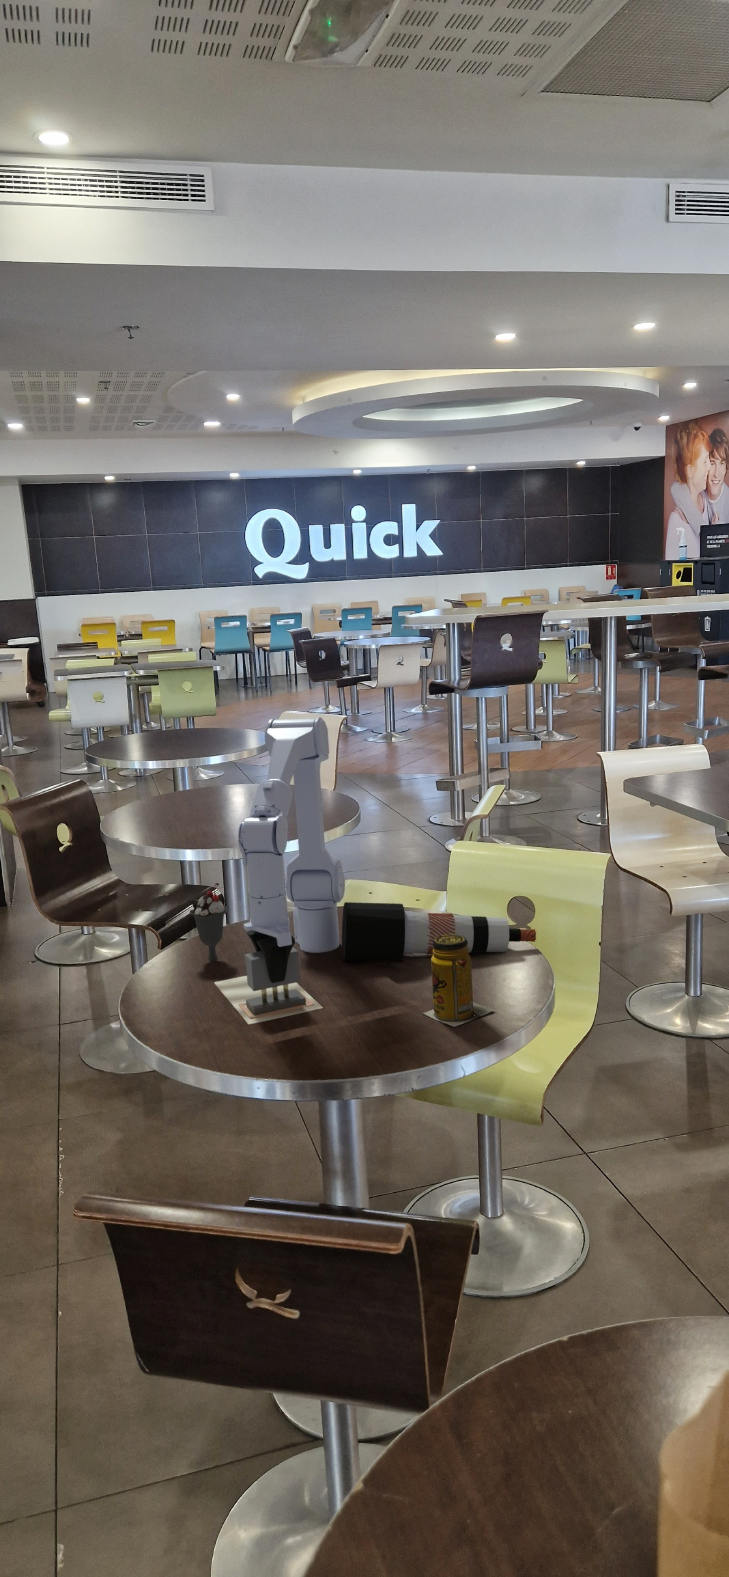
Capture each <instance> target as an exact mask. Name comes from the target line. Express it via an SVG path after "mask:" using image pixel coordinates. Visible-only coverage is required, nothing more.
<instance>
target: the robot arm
mask: <svg viewBox="0 0 729 1577" xmlns="http://www.w3.org/2000/svg"><path fill="white" fill-rule="evenodd" d="M264 729H265V730H264V743H265V744H264V745H265V748H266V750H267V752H268V755H269V757H270V760H269V766H268V770H267V771H268V772H267V777H266V780H263V781H262V782H260V784H259V785H258V786H257V788H256V793H255V796H254V799H253V801H252V802H253V803H252V805H251V809H250V812H249V814H248V815H249V816H248V817H246V818H245V819H244V820H242V821H240V824H239V827H238V831H237V832H238V835H237V837H238V840H237V842H238V848H239V851H240V854H241V856H242V857H241V858H242V864H243V866H244V867H246V876H247V878H246V879H247V891H248V901H249V902H248V903H249V918H250V920H249V922H246V923H244V924H243V929H244V930H245V931H247V932H246V934H247V936H248V938H249V939H250V941H251V943H252V945H253V947H254V949H255V952H259V951H262V953H263V955H264V958H265V961H266V965H267V970H268V975H269V978H270V980H271V982H272V983H275V982H280V981H284V980H285V976H286V970H287V963H288V959H289V955H290V952H291V950H292V947H294V946H295V944H296V943H297V944H298V945H299V948H300V950H302V951H303V952H306V953H314V954H315V953H317V954H319V953H327V952H331V951H334V950H336V949H337V948H339V946H340V934H339V933H340V932H339V917H338V903H341V901H342V900H343V898H344V896H345V890H346V882H345V874H344V872H343V870H344V869H343V865H342V862H341V859H340V858H339V857H338V856H336V855H335V854H332V853H331V852H330V851H328V850H327V849H326V843H325V842H326V840H325V829H324V826H325V825H324V812H323V798H322V783H321V763H322V762H325V761H327V760H329V759H330V758H329V757H330V756H329V754H330V744H329V743H330V742H329V732H328V731H329V730H328V729H329V728H328V727H327V723H326V721H325V720H324V719H323V717H321V716H318V717H311V718H308V717H307V718H286V719H285V718H281V719H276V718H270V719H269V720H268V722H267V723H266V724H265V728H264ZM292 779H293V789H294V794H293V790H292V789H291V788H290V784H291V781H292ZM293 796H294V802H295V815H296V816H295V817H296V828H297V840H298V853H297V854H296V855H294V856H293V857H292V858H291V859H289V862H288V863H287V866H286V874H285V861H284V854H285V851H286V849H287V846H288V845H287V844H288V830H289V824H288V820H287V819H288V815H289V812H290V810H291V809H290V807H291V804H292V801H293ZM285 875H286V877H285ZM287 898H288V900H289V902H291V903H293V905H294V906H293V907H294V908H293V911H292V920H293V931H294V932H293V934H294V936H293V935H292V931H290V925H291V924H290V918H289V916H288V903H287Z"/></svg>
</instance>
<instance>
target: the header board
mask: <svg viewBox="0 0 729 1577" xmlns="http://www.w3.org/2000/svg"><path fill="white" fill-rule="evenodd" d="M213 984H214V985H215V986H216V987H217V988H218V990H219V991H220V992H221V993H222V994H223V995H224V997H225V998H226V999H227V1000H228V1002H229V1003H230V1004H231V1005H232V1007H233V1008H234V1009H235V1010H236V1012H238V1013H239V1015H240V1016H241V1017H242V1018H243V1020H244V1021H245V1022H246V1023H247V1024H248V1025H252V1024H257V1023H262V1022H266V1021H270V1020H271V1021H272V1020H276V1019H280V1018H284V1017H288V1016H289V1017H290V1016H293V1015H299V1014H302V1013H308V1012H311V1011H315V1010H316V1011H317V1010H321V1009H324V1007H323V1006H322V1005H321V1004H320V1003H319V1002H318V1001H317V1000H316V999H314V998H313V997H312V996H311V995H310V994H309V993H308V992H307V991H306V990H305V989H304V988H303V987H302V986H300V985H299V983H298V982H296V983H291V984H286V985H282V986H277V987H272V988H267V989H263V990H258V991H253V990H252V989H251V988H250V987H249V986H248V984H247V975H243V976H238V977H232V978H229V979H228V978H227V979H224V980H223V979H222V980H218V981H214V982H213Z"/></svg>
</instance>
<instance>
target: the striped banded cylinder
mask: <svg viewBox="0 0 729 1577" xmlns="http://www.w3.org/2000/svg"><path fill="white" fill-rule="evenodd" d="M341 921H342V922H341V955H342V956H341V958H342V961H343V962H344V961H348V962H350V961H352V962H353V961H355V962H356V961H357V962H358V961H361V962H399V963H401V962H402V961H403V959H404V956H405V955H414V954H418V955H419V954H420V955H421V954H422V955H423V954H426V956H428V955H434V954H433V940H434V939H435V938H437V937H439V936H442V935H460V936H463V937H465V938H466V939H467V941H468V944H467V946H468V954H469V953H506V952H507V951H508V948H509V943H511V942H515V943H517V942H518V943H520V942H526V943H528V942H532V943H533V942H535V943H536V940H537V931H536V928H534V929H533V928H532V929H531V928H530V929H528V928H526V929H524V928H522V929H520V928H513V927H512V928H511V927H510V926H509V921H508V918H507V917H495V916H493V917H491V916H490V917H487V916H483V915H482V916H475V915H470V914H469V915H468V914H467V915H466V914H464V915H463V914H462V915H461V914H459V915H458V914H453V913H451V912H450V913H446V912H445V913H444V912H443V913H440V912H439V913H438V912H433V913H432V912H414V911H410V910H409V911H408V910H405V906H404V904H403V903H389V902H388V903H385V902H351V901H350V902H347V901H345V902H344V903H343V909H342V920H341Z"/></svg>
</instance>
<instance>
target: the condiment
mask: <svg viewBox="0 0 729 1577" xmlns="http://www.w3.org/2000/svg"><path fill="white" fill-rule="evenodd" d="M467 944H468V941H467V939H466V938H465V937H463V936H460V935H442V936H439V937H437V938H435V939H434V940H433V954H432V956H431V958H430V963H431V964H430V967H431V968H430V969H431V981H432V982H431V983H432V984H431V986H432V987H431V988H432V1002H433V1005H432V1006H433V1008H432V1009H430V1010H428V1011H425V1012H422V1014H423V1015H425V1016H427V1017H429V1018H431V1019H434V1020H435V1021H438V1022H441V1023H442V1024H447V1026H448V1025H449V1026H451V1027H453V1028H454V1027H458V1026H460V1025H463V1024H466V1023H468V1022H471V1021H473V1020H475V1019H477V1018H479V1017H483V1016H485V1015H487V1014H489V1013H491V1012H494V1011H495V1009H493V1008H489V1007H486V1006H483V1005H481V1004H479V1003H478V1004H477V1003H476V1002H474V994H473V992H474V991H473V990H474V989H473V974H472V973H473V972H472V957H471V955H470V954H469V953H468V946H467ZM474 1015H475V1016H474Z"/></svg>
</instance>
